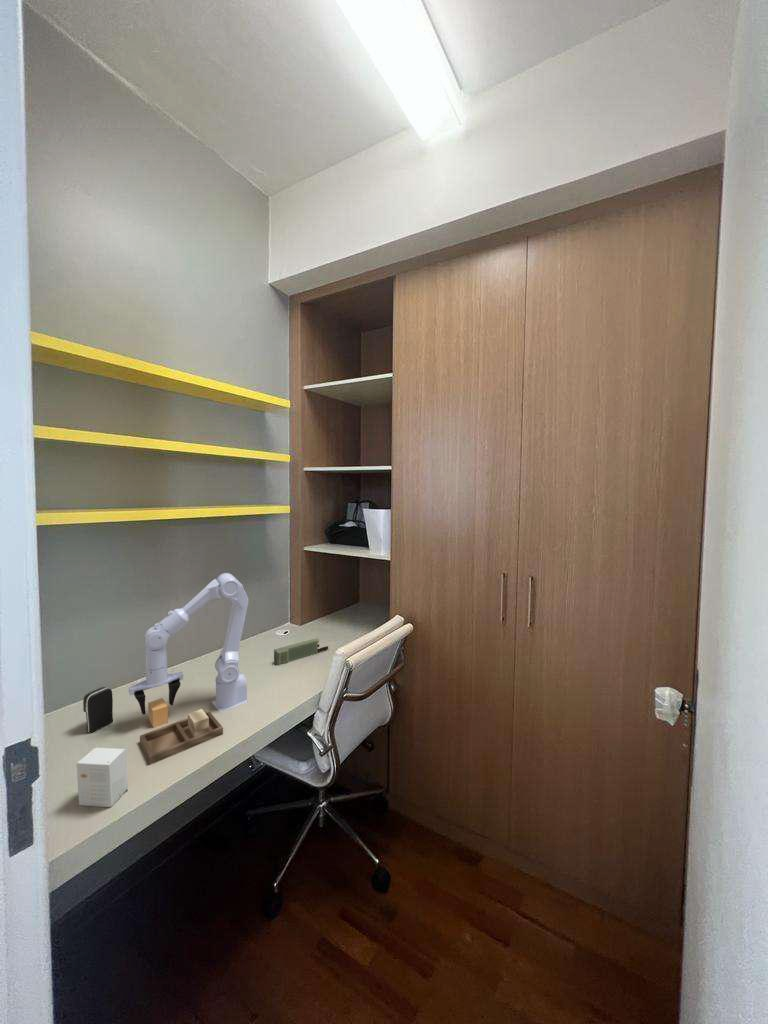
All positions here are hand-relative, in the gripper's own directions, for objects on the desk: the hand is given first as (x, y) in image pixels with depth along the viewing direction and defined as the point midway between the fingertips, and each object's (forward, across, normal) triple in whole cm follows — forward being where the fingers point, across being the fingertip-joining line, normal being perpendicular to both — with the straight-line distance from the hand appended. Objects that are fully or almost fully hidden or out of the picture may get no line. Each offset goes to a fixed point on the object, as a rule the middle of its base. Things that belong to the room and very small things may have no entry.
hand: (157, 708), depth 122 cm
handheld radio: (+5, -58, -11) cm, 59 cm away
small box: (+5, +17, +24) cm, 30 cm away
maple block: (+4, -8, +14) cm, 16 cm away
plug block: (+5, 0, 0) cm, 5 cm away
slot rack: (+4, -3, +14) cm, 15 cm away
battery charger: (+5, +14, -10) cm, 18 cm away
